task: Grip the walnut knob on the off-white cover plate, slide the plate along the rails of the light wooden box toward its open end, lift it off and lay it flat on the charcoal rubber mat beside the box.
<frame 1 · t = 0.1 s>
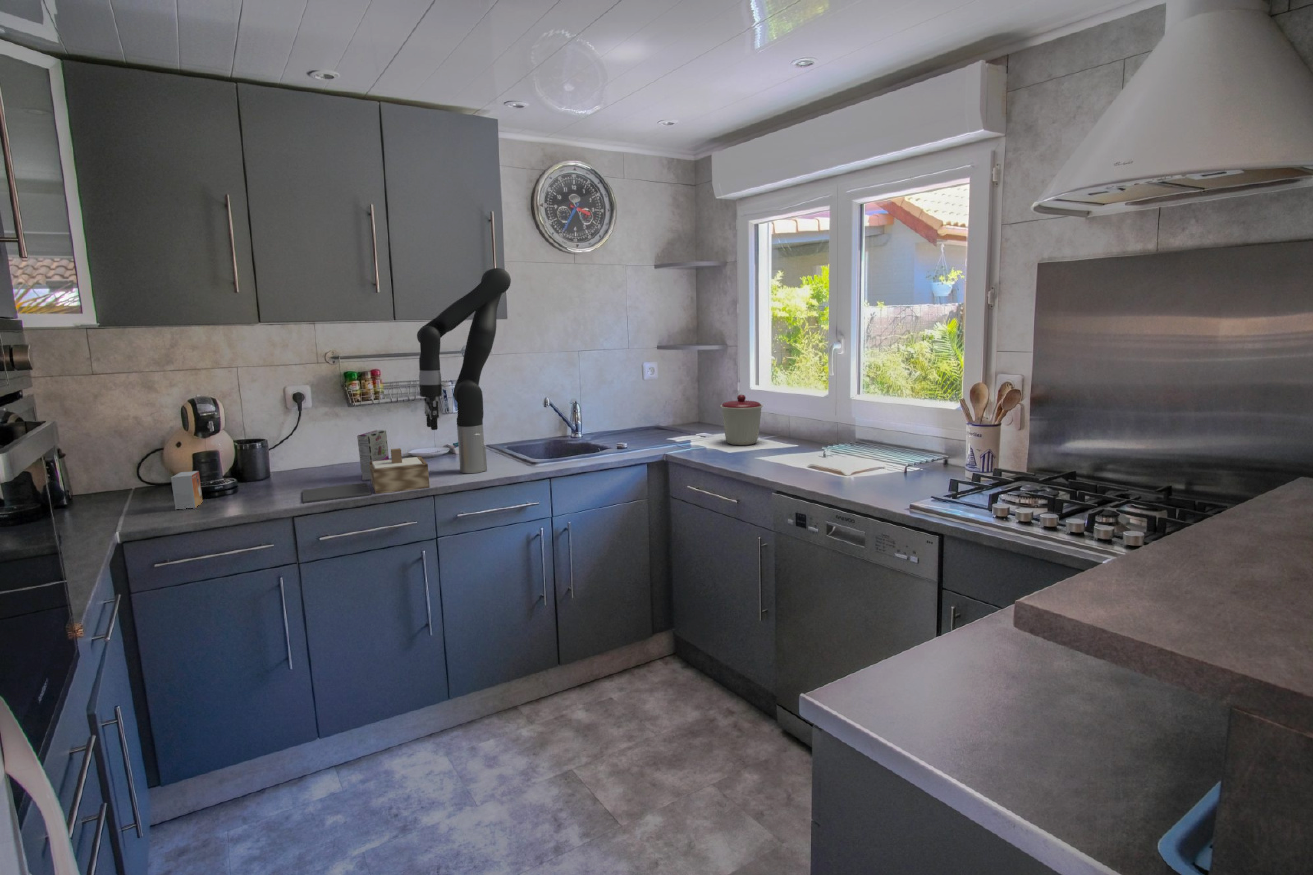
hand: (432, 428, 261), 17 cm above the counter, tool pointing down, fingers open, 8 cm apart
small box: (189, 507, 228), on the counter
canister: (741, 444, 313), on the counter
candy bar box: (376, 477, 264), on the counter
wooden box: (400, 485, 249), on the counter
cover plate: (397, 465, 248), point 7 cm above the counter, touching wooden box
rubber mat: (336, 493, 240), on the counter
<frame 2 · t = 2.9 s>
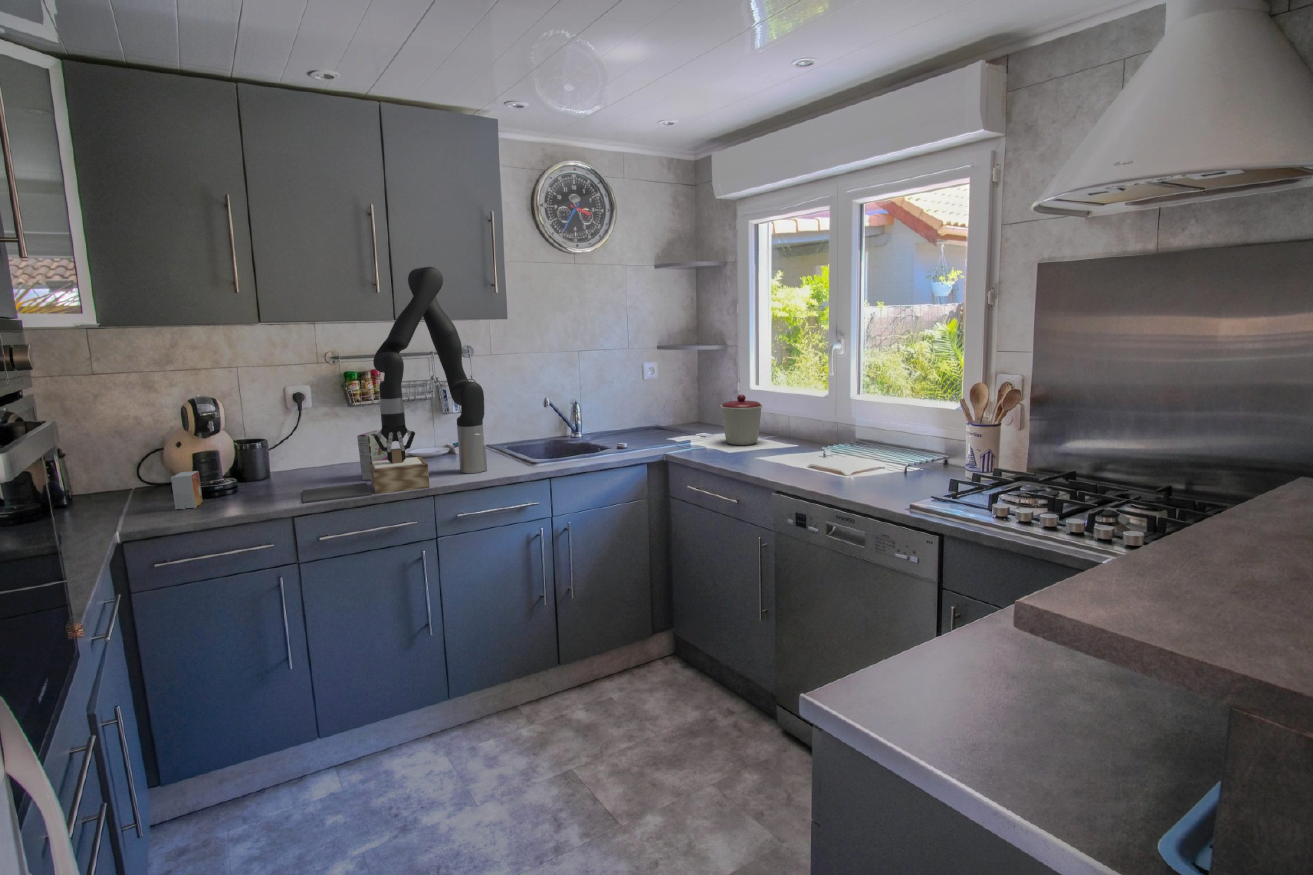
hand: (396, 461, 247), 8 cm above the counter, tool pointing down, fingers closed on cover plate, 3 cm apart
cover plate: (397, 465, 248), point 7 cm above the counter, touching gripper, wooden box
everything else where it was.
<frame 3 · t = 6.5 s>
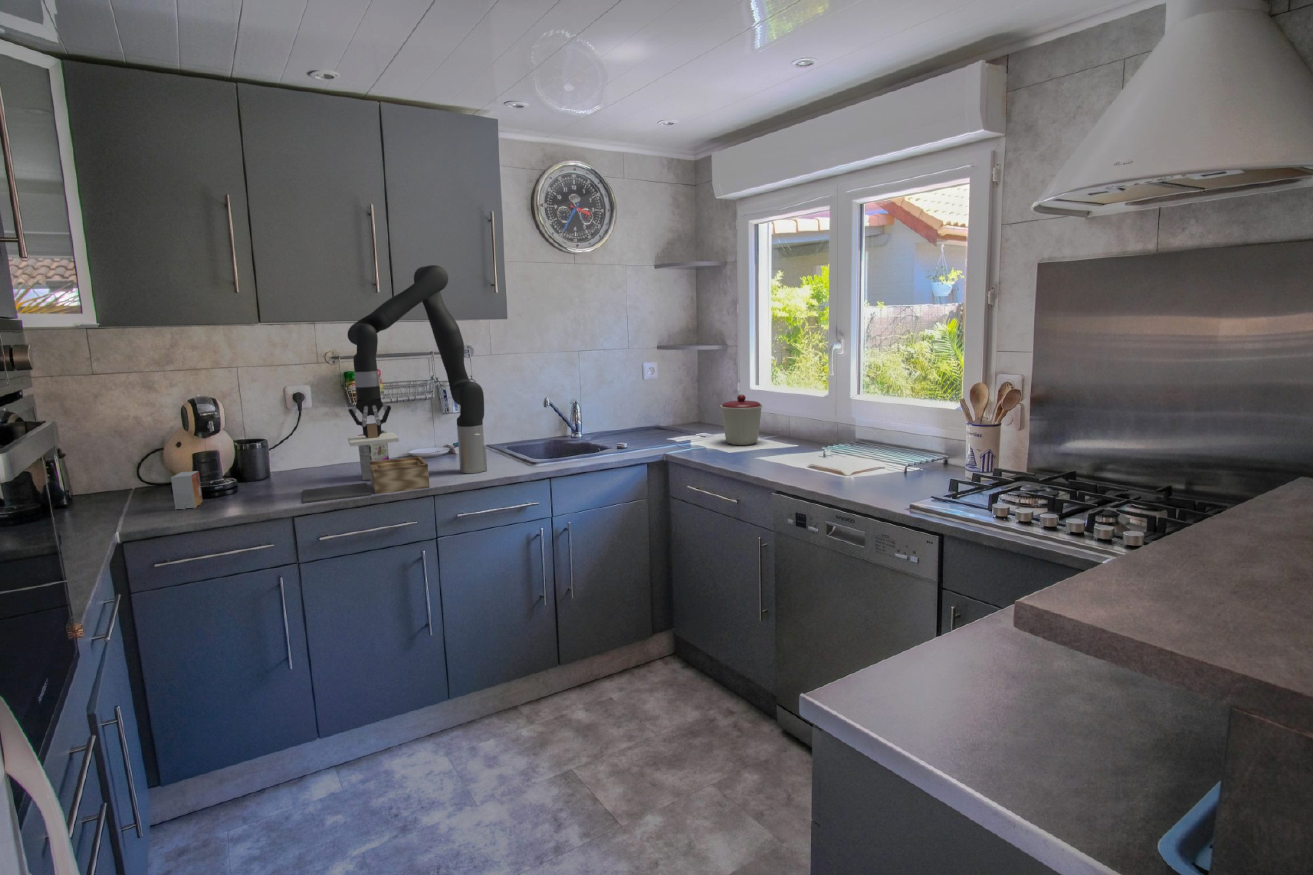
hand: (372, 436, 243), 18 cm above the counter, tool pointing down, fingers closed on cover plate, 3 cm apart
cover plate: (373, 440, 243), point 16 cm above the counter, touching gripper
everything else where it was.
when the fingers open (3 cm above the counter, at t = 10.2 s): cover plate stays where it is, resting on rubber mat.
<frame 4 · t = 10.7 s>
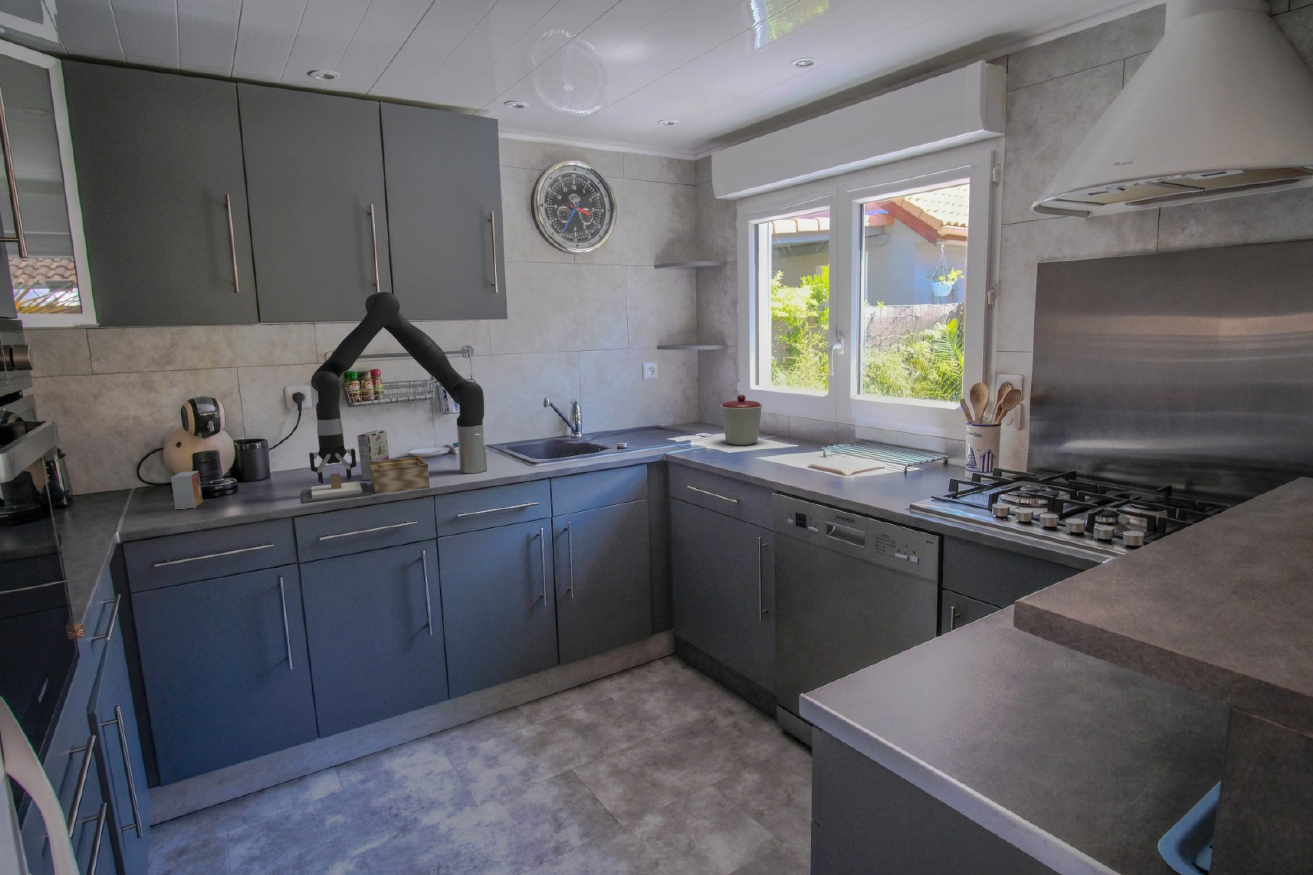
hand: (335, 481, 240), 4 cm above the counter, tool pointing down, fingers open, 7 cm apart
cover plate: (336, 491, 240), point 1 cm above the counter, touching rubber mat
everything else where it was.
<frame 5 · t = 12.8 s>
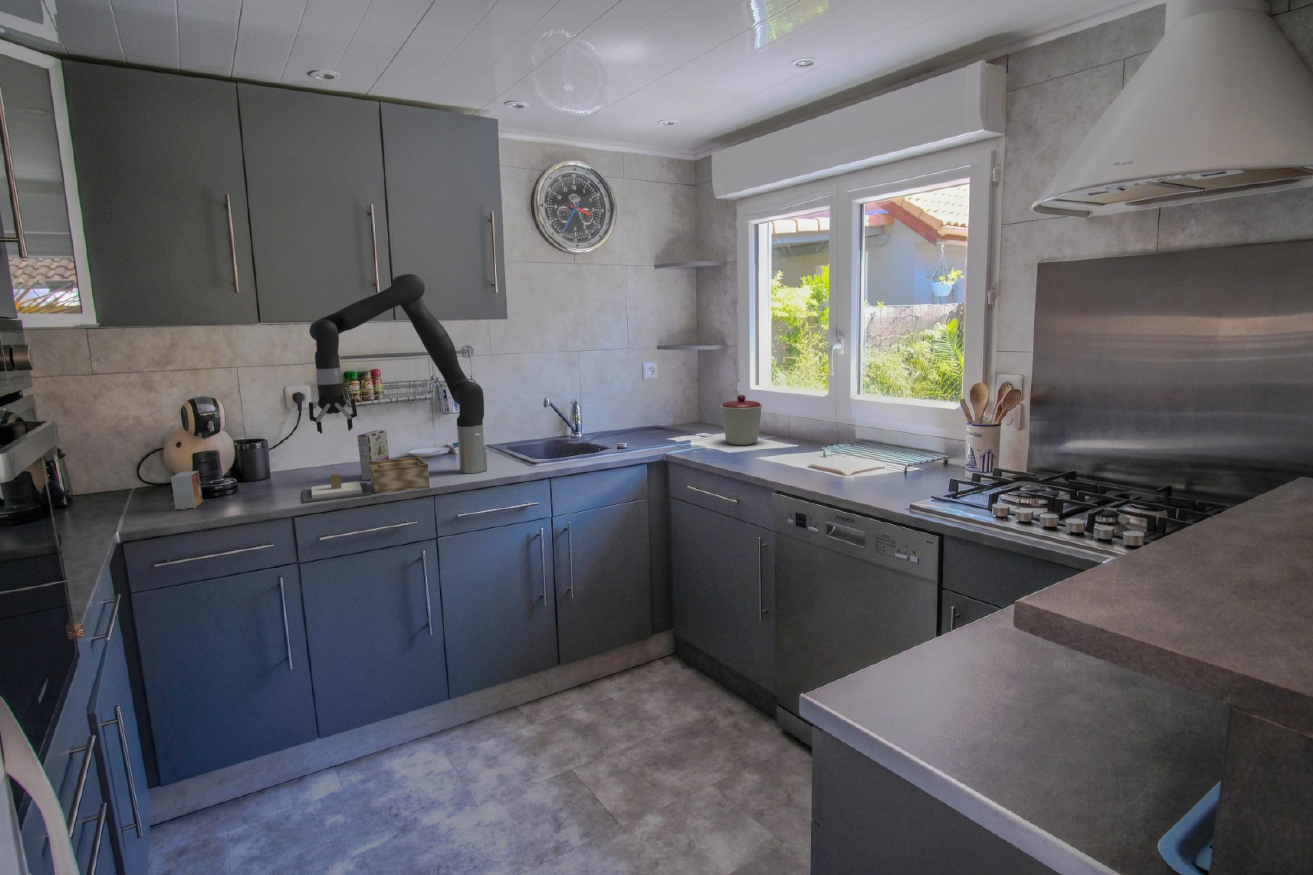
hand: (335, 431, 239), 20 cm above the counter, tool pointing down, fingers open, 8 cm apart
nothing on the counter moved.
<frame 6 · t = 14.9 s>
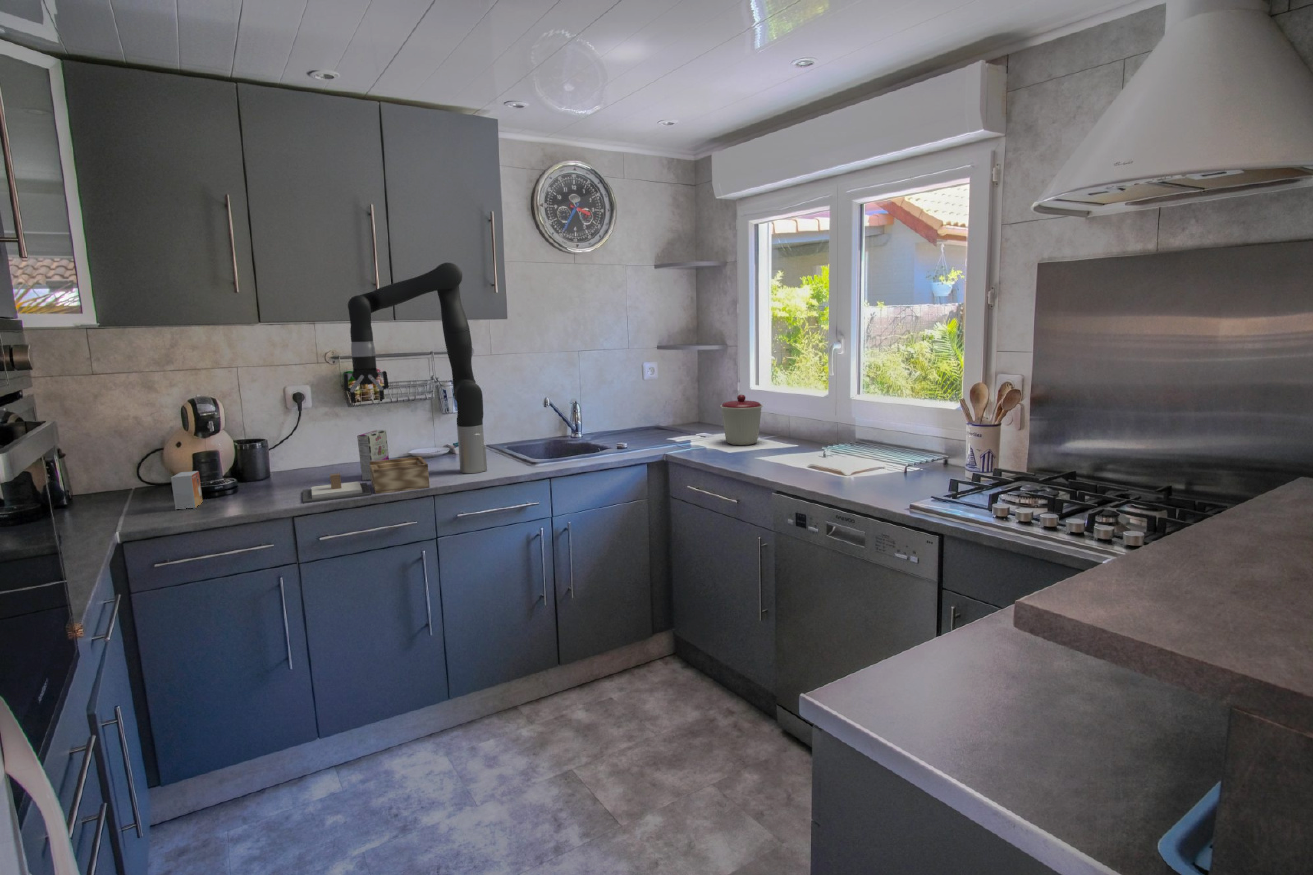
hand: (367, 402, 252), 28 cm above the counter, tool pointing down, fingers open, 8 cm apart
nothing on the counter moved.
at the end: cover plate inside the target area (0.1 cm from its centre), point 0.6 cm above the counter; cover plate tilted 0°; the gripper is holding nothing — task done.
